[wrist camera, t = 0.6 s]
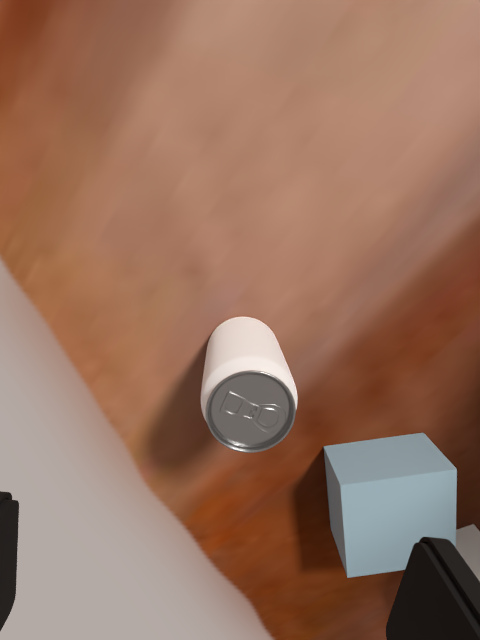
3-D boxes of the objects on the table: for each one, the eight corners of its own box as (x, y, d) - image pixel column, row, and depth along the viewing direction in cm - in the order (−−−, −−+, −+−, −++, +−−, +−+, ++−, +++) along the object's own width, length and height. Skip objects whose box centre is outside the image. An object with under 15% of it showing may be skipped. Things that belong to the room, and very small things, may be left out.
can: (260, 391, 37) (276, 472, 25) (196, 367, 36) (182, 438, 24) (289, 331, 35) (320, 387, 24) (223, 304, 35) (222, 348, 23)
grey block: (472, 523, 42) (512, 572, 36) (486, 570, 44) (526, 625, 38) (410, 544, 42) (439, 596, 37) (426, 590, 44) (456, 647, 38)
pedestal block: (422, 431, 39) (456, 469, 33) (423, 514, 41) (455, 562, 36) (323, 445, 39) (340, 485, 33) (330, 527, 41) (347, 577, 36)
